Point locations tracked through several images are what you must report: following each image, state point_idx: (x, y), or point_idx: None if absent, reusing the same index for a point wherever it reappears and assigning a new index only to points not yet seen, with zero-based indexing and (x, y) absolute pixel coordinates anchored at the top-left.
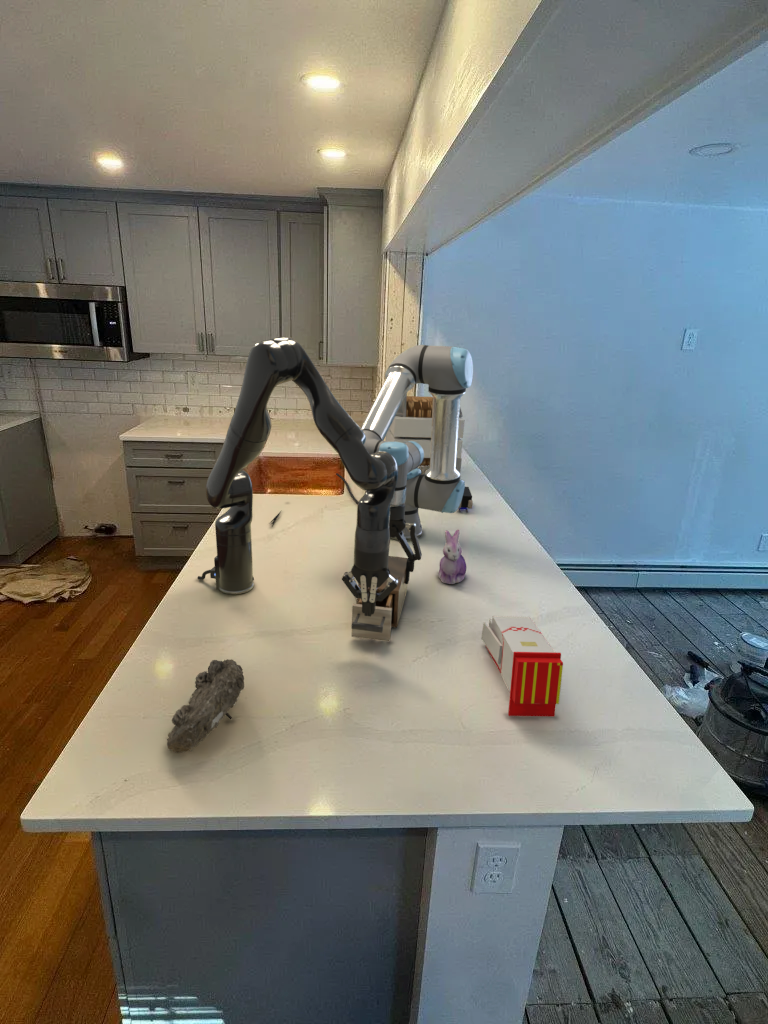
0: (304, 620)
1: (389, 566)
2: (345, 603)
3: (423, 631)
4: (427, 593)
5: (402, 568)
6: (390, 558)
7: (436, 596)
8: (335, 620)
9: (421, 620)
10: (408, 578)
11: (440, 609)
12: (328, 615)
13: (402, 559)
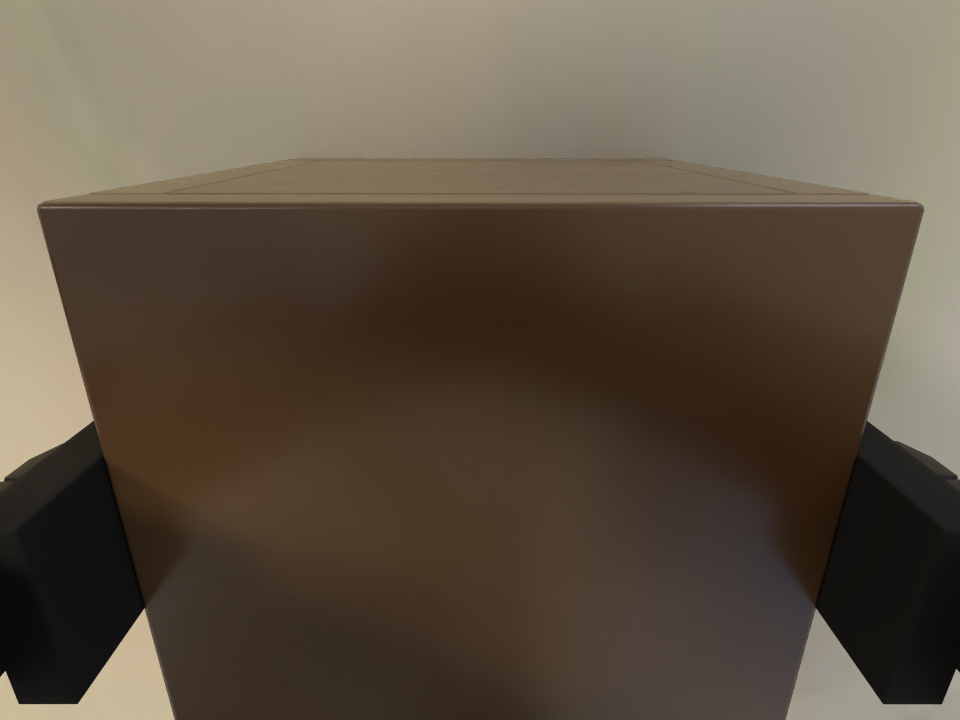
0: (45, 713)
1: (528, 644)
2: None
3: None
4: (875, 152)
5: (748, 659)
6: (498, 341)
7: (957, 195)
8: None
9: None
10: None
11: (942, 415)
12: (151, 645)
13: (762, 320)
